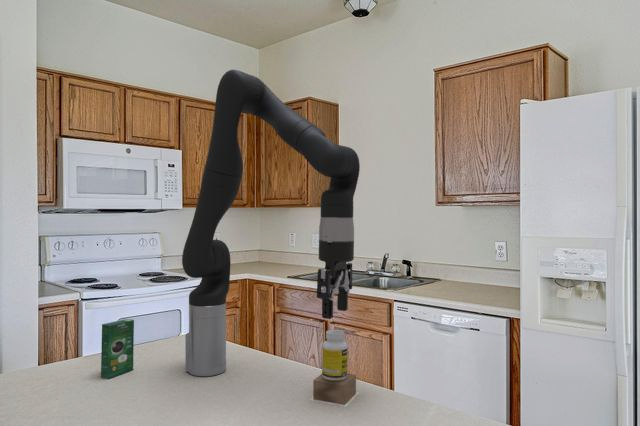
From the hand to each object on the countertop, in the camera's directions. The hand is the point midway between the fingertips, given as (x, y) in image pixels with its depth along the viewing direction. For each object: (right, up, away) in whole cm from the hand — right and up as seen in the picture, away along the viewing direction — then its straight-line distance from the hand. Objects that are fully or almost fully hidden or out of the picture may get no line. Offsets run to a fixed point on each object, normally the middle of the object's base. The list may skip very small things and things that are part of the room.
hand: (335, 314), depth 105 cm
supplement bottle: (0, -14, 0) cm, 14 cm away
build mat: (-1, -19, +3) cm, 19 cm away
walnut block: (0, -18, 0) cm, 18 cm away
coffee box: (-54, -19, +17) cm, 59 cm away
